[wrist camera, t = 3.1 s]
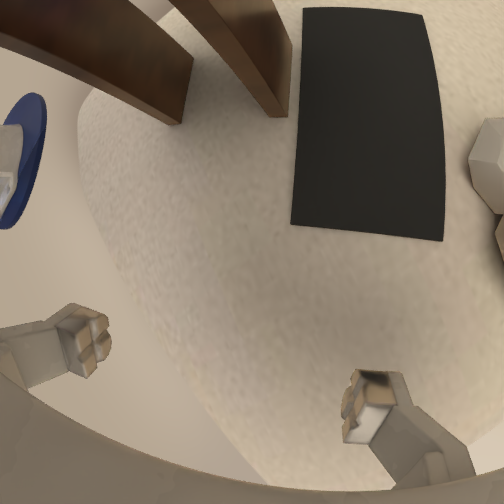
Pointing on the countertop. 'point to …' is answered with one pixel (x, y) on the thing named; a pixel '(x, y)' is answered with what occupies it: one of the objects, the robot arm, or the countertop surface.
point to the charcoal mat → (369, 125)
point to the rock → (490, 170)
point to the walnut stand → (152, 48)
